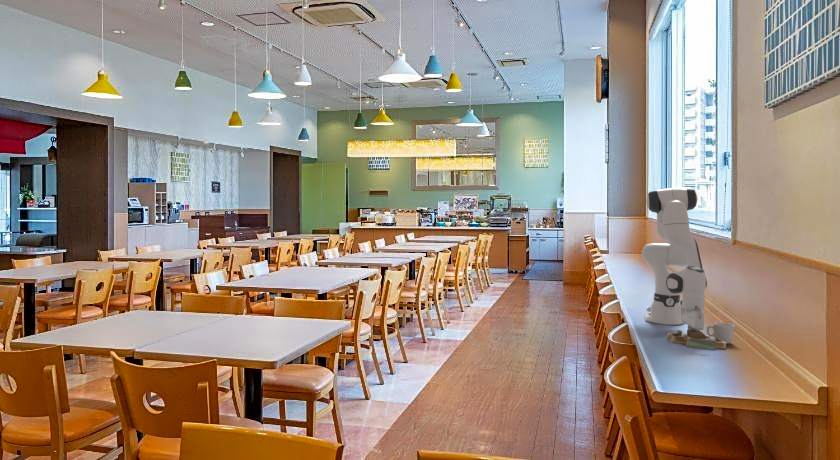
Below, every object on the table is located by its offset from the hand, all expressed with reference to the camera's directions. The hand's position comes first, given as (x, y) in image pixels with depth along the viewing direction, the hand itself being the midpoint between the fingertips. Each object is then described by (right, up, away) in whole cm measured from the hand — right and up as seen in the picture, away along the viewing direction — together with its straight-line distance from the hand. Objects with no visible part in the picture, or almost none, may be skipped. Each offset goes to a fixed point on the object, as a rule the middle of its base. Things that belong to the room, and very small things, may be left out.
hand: (691, 336), depth 278 cm
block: (-1, -2, -5) cm, 5 cm away
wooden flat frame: (-1, -2, -6) cm, 6 cm away
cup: (+11, -3, -2) cm, 12 cm away
